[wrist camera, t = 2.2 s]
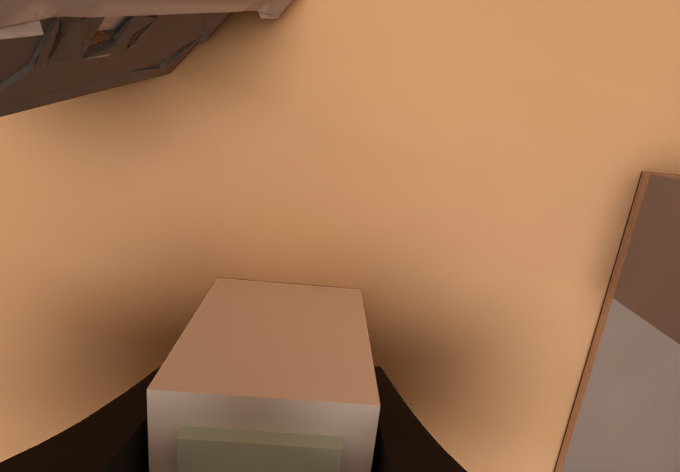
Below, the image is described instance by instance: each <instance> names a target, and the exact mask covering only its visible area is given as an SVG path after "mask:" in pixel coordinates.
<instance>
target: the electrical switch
mask: <svg viewBox="0 0 680 472" xmlns="http://www.w3.org/2000/svg"><path fill="white" fill-rule="evenodd" d="M291 2H292V0H0V117H2V116H5V115H9V114H13V113H17V112H21V111H25V110H29V109H33V108H37V107H41V106H44V105H48V104H52V103H56V102H60V101H64V100H68V99H72V98H76V97H79V96H83V95H87V94H91V93H95V92H99V91H103V90H107V89H111V88H115V87H118V86H122V85H126V84H130V83H134V82H138V81H142V80H146V79H150V78H154V77H157V76H161V75H165V74H169V73H171V72H172V71H173V70H174V69H175V68H176V66H177V65H178V64H179V63H180V62H181V61H182V59H183V58H184V57H185V56H186V55H187V54H188V52H189V51H190V50H191V49H192V48H193V47H194V46H195V44H196V43H197V42H198V41H199V42H200V43H201V44H202V43H203V42H204V41H205V40H206V39H207V38H208V37H209V36H210V35H211V34H212V33H213V31H214V30H215V29H216V28H217V27H218V26H219V25H220V24H221V23H222V22H223V20H224V19H225V18H226V17H227V16H228V15H229V13H230V12H242V11H258V13H259V15H260V17H261V18H263V19H278V18H279V16H280V15H281V13H282V12H283V11H284V10H285V9H286V8H287V6H288V5H289V4H290V3H291ZM99 30H102V31H104V32H105V33H106V34H107V35H108V36H109V37H111V39H108V40H105V41H102V42H99V43H96V44H93V45H90V43H91V41H92V39H93V38H94V36H95V34H96V32H97V31H99ZM136 32H138V33H139V34H140V36H139V37H138V38H137V39H136V40H135V42H134V43H133V44H132V45H131V46H129V45H128V44H129V42H130V39H131V37H132V35H133V34H135V33H136ZM89 45H90V46H89Z"/></svg>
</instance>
